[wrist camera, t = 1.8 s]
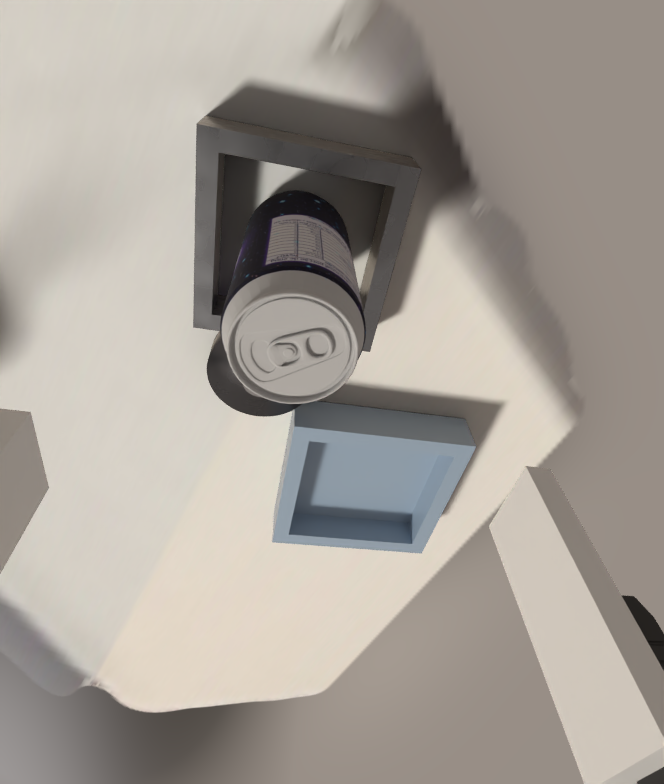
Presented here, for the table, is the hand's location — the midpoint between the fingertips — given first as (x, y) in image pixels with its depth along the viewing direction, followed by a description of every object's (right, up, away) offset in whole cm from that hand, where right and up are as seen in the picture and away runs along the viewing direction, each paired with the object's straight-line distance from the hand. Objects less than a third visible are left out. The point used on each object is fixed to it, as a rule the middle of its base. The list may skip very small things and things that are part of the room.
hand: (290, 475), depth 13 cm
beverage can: (-1, +11, +14) cm, 18 cm away
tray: (+4, -4, +26) cm, 26 cm away
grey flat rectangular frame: (-1, +8, +16) cm, 18 cm away
